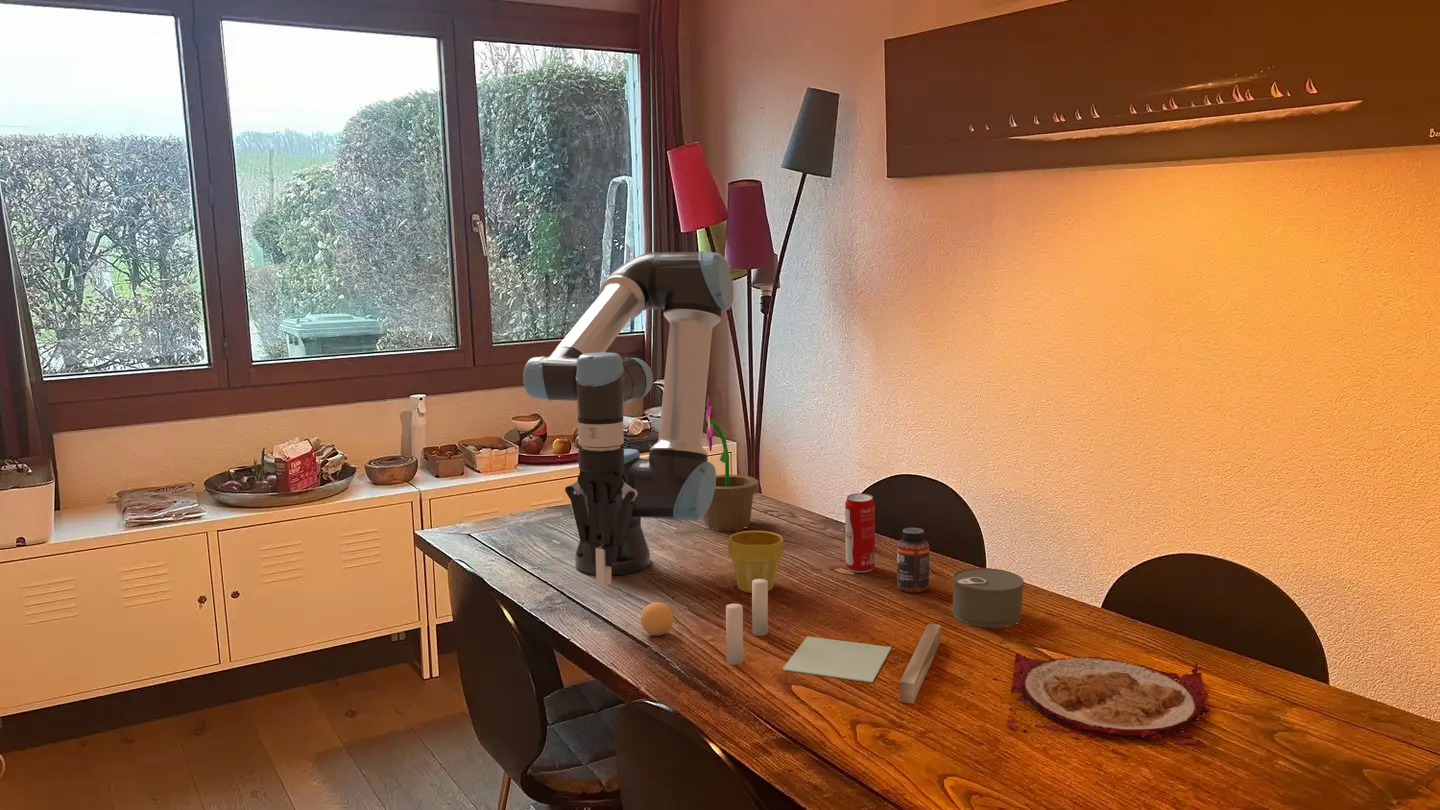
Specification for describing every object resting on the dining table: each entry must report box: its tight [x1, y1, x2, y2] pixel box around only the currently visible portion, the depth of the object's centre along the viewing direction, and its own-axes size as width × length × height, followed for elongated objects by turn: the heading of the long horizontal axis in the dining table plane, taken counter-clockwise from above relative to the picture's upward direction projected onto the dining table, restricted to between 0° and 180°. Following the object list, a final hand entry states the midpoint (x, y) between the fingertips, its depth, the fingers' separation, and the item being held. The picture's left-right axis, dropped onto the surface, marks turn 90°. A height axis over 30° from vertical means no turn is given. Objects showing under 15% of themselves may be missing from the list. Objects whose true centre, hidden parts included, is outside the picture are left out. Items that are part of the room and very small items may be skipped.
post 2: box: [751, 579, 769, 637], centre depth 176 cm, size 3×3×9 cm
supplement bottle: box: [896, 527, 930, 594], centre depth 197 cm, size 6×6×11 cm
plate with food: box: [1006, 653, 1211, 750], centre depth 149 cm, size 25×26×4 cm
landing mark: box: [781, 635, 892, 684], centre depth 166 cm, size 14×14×1 cm
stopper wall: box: [899, 623, 941, 705], centre depth 161 cm, size 2×24×3 cm, turn 160°
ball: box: [640, 601, 674, 637], centre depth 176 cm, size 6×6×6 cm
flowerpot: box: [703, 395, 759, 531], centre depth 240 cm, size 14×14×30 cm
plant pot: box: [727, 530, 784, 594], centre depth 199 cm, size 10×10×10 cm
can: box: [951, 567, 1025, 629], centre depth 183 cm, size 12×12×7 cm
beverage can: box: [844, 492, 876, 574], centre depth 208 cm, size 6×6×15 cm
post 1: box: [725, 603, 744, 666], centre depth 164 cm, size 3×3×9 cm
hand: (603, 583), depth 178 cm, fingers closed
